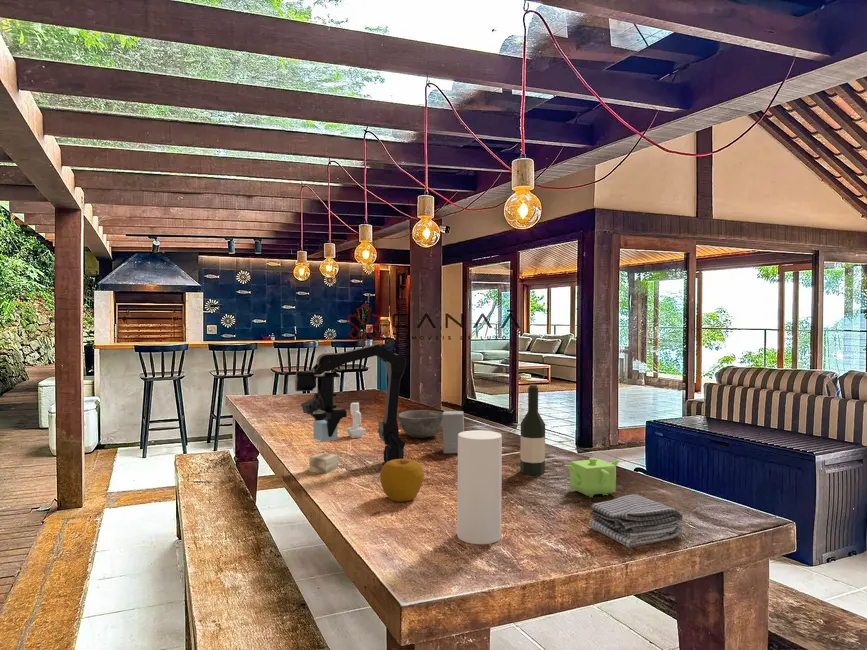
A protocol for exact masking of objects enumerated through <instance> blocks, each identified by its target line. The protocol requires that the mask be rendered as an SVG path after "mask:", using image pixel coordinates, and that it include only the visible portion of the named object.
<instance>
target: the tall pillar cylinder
mask: <svg viewBox="0 0 867 650" xmlns="http://www.w3.org/2000/svg"><path fill="white" fill-rule="evenodd" d="M502 440H503V435H502V433H500V432H497V431H492V430H478V429H477V430H466V431H465V430H464V432H461V433H459V434H458V453H457V508H456V509H457V512H456V513H457V514H456V515H457V518H456V520H457V523H456V525H457V527H456V528H457V529H456V530H457V533H456V535H457V538H458V539H459V540H460V541H463V542H464V543H467V544H472V545H489V544H495V543H496V542H498V541H500V539H501V538H502V470H503V469H502V468H503V467H502V460H503V459H502V458H503V457H502V455H503V453H502V452H503V451H502V450H503V449H502V448H503V447H502V446H503V445H502V444H503V443H502V442H503V441H502Z"/></svg>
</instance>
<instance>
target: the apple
mask: <svg viewBox="0 0 867 650" xmlns="http://www.w3.org/2000/svg"><path fill="white" fill-rule="evenodd" d="M424 472H425V471H424V469H423V467H422V465H421V463H419V462H418V461H416V460H415V459H411V458H410V459H409V458H404V459H394V460H390V461H388V462H386V463H385V464H383V465H382V468H381V469H380V473H379V474H380V475H379V478H380V480H379V481H380V484H381V487H382V490H383V492H384V493H385V495H386V497H387V498H388V499H390V500H391V501H393V502H397V503H401V502H402V503H405V502H410V501H412V500H414V499H416V497H417V495H418V494H419V492H420V490H421V488H422V485H423V482H424V480H425V473H424Z"/></svg>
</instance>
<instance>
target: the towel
mask: <svg viewBox="0 0 867 650" xmlns="http://www.w3.org/2000/svg"><path fill="white" fill-rule="evenodd" d="M590 509H591V511H590V513H589V515H590V516H591V517H592V518H593V519H588V524H589V527H590V528H591V529H593V531H596V532H598V533H600V534H603V535H605V536H606V537H608V538H610V539H612V540H614V541H616V542H617V543H619V544H621V545H624V546H625V547H627V548H632V547H637V546H642V545H643V546H644V545H647V544H648V545H649V544H654V543H659V542H665V541H668V540H673V539H675V538H677V537H679V536H680V535H681V533H682V531H683V526H682V525H681V524H680V522H681V521H683V515H682V513H680V512H679V510H677V509H676V508H674V507H671V506H667V505H664V504H663V503H661V502H660V501H659V502H658V501H655V500H652V499H649V498H647V497H645V496H642V495H639V494H634V493H632V494H627V495H623V496H620V497H617V498H614V499H610V500H605V501H599V502H594V503H591V505H590Z"/></svg>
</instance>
